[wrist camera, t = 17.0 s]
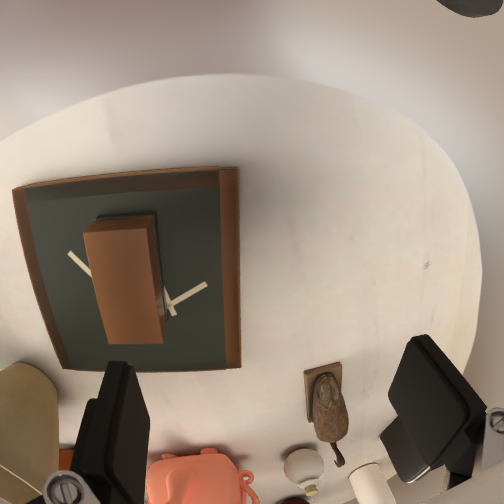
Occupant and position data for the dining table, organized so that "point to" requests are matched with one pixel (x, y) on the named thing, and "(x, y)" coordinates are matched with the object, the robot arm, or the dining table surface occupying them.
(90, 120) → the dining table surface
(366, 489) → the can
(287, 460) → the ornament
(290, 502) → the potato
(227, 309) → the slate
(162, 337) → the eraser
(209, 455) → the teapot
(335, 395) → the figurine
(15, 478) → the plant pot
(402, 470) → the battery charger
